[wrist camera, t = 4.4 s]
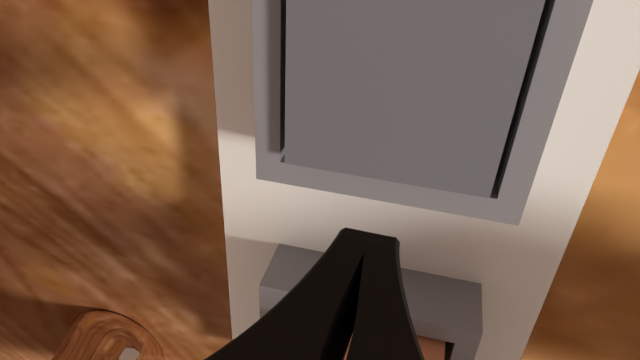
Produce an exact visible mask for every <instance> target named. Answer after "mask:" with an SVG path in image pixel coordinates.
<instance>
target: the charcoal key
mask: <svg viewBox="0 0 640 360" xmlns="http://www.w3.org/2000/svg"><path fill="white" fill-rule="evenodd" d="M544 4H545V0H286V70H285V164H291V165H297V166H303V167H308V168H314V169H320V170H326V171H332V172H338V173H343V174H349V175H355V176H361V177H367V178H373V179H379V180H384V181H390V182H396V183H402V184H408V185H414V186H420V187H425V188H431V189H437V190H443V191H449V192H455V193H460V194H466V195H472V196H478V197H484V198H490V195H491V192H492V188H493V185H494V181H495V177H496V174H497V170H498V167H499V163H500V160H501V156H502V153H503V149H504V146H505V142H506V138H507V135H508V131H509V128H510V124H511V121H512V117H513V114H514V110H515V107H516V103H517V99H518V96H519V92H520V89H521V85H522V82H523V78H524V75H525V71H526V68H527V64H528V60H529V57H530V53H531V50H532V46H533V43H534V39H535V36H536V32H537V29H538V25H539V21H540V18H541V14H542V11H543V7H544Z"/></svg>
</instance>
